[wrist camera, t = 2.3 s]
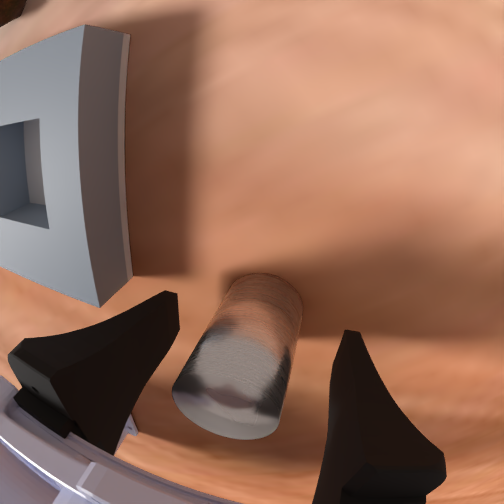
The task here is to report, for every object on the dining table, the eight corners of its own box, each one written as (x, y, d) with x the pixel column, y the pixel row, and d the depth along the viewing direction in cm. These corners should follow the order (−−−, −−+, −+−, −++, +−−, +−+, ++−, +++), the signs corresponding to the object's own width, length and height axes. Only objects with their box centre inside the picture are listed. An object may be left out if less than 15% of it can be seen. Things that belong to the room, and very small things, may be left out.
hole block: (133, 276, 15) (99, 308, 13) (24, 244, 17) (-6, 263, 15) (130, 34, 10) (84, 24, 7) (11, 71, 12) (-26, 75, 9)
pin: (295, 343, 15) (271, 447, 9) (225, 328, 15) (177, 421, 10) (309, 281, 13) (288, 391, 8) (228, 266, 14) (166, 359, 8)
